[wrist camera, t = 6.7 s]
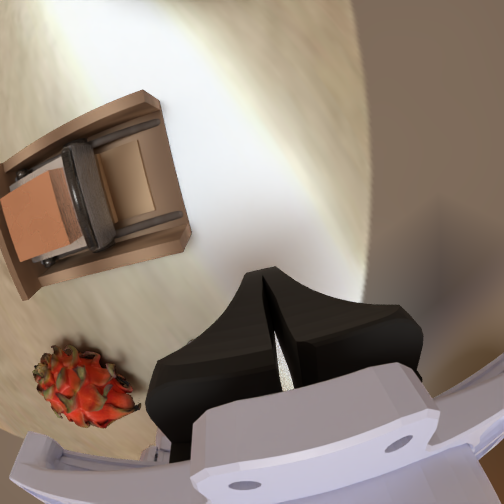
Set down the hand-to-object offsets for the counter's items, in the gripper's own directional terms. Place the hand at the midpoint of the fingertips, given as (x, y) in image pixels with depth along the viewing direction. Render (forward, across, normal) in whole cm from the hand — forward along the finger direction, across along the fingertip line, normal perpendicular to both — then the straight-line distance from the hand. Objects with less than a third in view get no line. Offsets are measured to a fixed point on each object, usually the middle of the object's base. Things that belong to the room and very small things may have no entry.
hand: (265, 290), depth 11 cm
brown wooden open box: (+9, +11, -6) cm, 15 cm away
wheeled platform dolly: (+8, +12, -6) cm, 16 cm away
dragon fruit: (+10, +19, +11) cm, 24 cm away
